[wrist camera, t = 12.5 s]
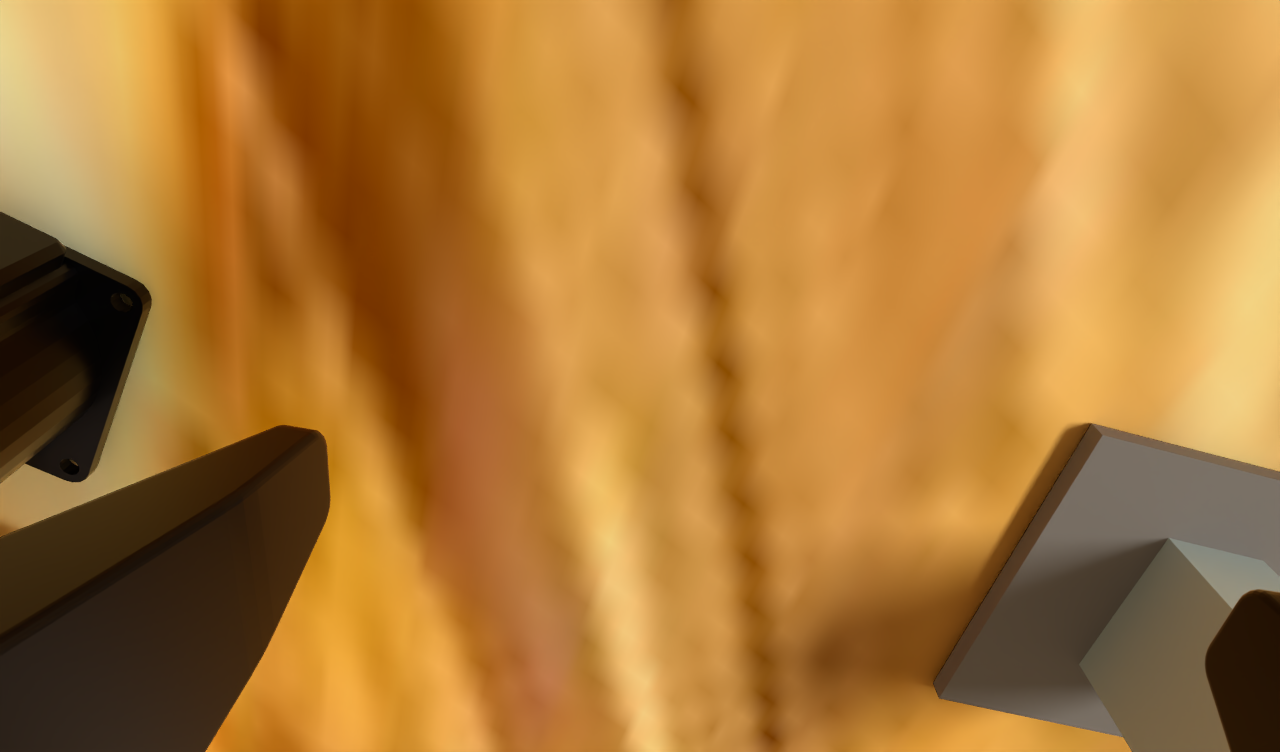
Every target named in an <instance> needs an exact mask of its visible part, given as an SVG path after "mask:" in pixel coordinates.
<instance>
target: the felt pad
mask: <svg viewBox="0 0 1280 752" xmlns="http://www.w3.org/2000/svg"><path fill="white" fill-rule="evenodd" d="M1168 538H1171V539H1175V540H1179V541H1183V542H1187V543H1192V544H1196V545H1200V546H1204V547H1208V548H1212V549H1217V550H1221V551H1225V552H1229V553H1233V554H1237V555H1241V556H1246V557H1250V558H1254V559H1258V560H1262V561H1264V562H1265V563H1266V564H1267V565H1268V566H1269V567H1270V568H1271V569H1272V570H1273V571H1274V572H1275V573H1276V574H1277V575H1278V576H1279V577H1280V472H1278V471H1274V470H1270V469H1266V468H1263V467H1259V466H1255V465H1251V464H1247V463H1243V462H1239V461H1235V460H1232V459H1228V458H1224V457H1220V456H1216V455H1212V454H1208V453H1204V452H1201V451H1197V450H1193V449H1189V448H1185V447H1181V446H1177V445H1173V444H1169V443H1166V442H1162V441H1158V440H1154V439H1150V438H1146V437H1142V436H1138V435H1135V434H1131V433H1127V432H1123V431H1119V430H1115V429H1111V428H1107V427H1104V426H1100V425H1096V424H1091V425H1090V427H1089V428H1088V430H1087V432H1086V433H1085V435H1084V437H1083V438H1082V440H1081V442H1080V443H1079V445H1078V446H1077V448H1076V450H1075V451H1074V453H1073V455H1072V456H1071V458H1070V460H1069V461H1068V463H1067V465H1066V466H1065V468H1064V469H1063V471H1062V473H1061V474H1060V476H1059V478H1058V479H1057V481H1056V483H1055V484H1054V486H1053V487H1052V489H1051V491H1050V492H1049V494H1048V496H1047V497H1046V499H1045V501H1044V502H1043V504H1042V506H1041V507H1040V509H1039V510H1038V512H1037V514H1036V515H1035V517H1034V519H1033V520H1032V522H1031V524H1030V525H1029V527H1028V528H1027V530H1026V532H1025V533H1024V535H1023V537H1022V538H1021V540H1020V542H1019V543H1018V545H1017V546H1016V548H1015V550H1014V551H1013V553H1012V555H1011V556H1010V558H1009V560H1008V561H1007V563H1006V565H1005V566H1004V568H1003V569H1002V571H1001V573H1000V574H999V576H998V578H997V579H996V581H995V583H994V584H993V586H992V587H991V589H990V591H989V592H988V594H987V596H986V597H985V599H984V601H983V602H982V604H981V606H980V607H979V609H978V610H977V612H976V614H975V615H974V617H973V619H972V620H971V622H970V624H969V625H968V627H967V628H966V630H965V632H964V633H963V635H962V637H961V638H960V640H959V642H958V643H957V645H956V646H955V648H954V650H953V651H952V653H951V655H950V656H949V658H948V660H947V661H946V663H945V665H944V666H943V668H942V669H941V671H940V673H939V674H938V676H937V678H936V679H935V681H934V683H933V684H934V687H935V689H936V692H937V694H938V697H939V698H940V699H945V700H949V701H954V702H959V703H964V704H968V705H973V706H978V707H983V708H987V709H992V710H997V711H1002V712H1006V713H1011V714H1016V715H1021V716H1025V717H1030V718H1035V719H1040V720H1044V721H1049V722H1054V723H1059V724H1063V725H1068V726H1073V727H1078V728H1082V729H1087V730H1092V731H1097V732H1101V733H1106V734H1111V735H1116V736H1120V737H1123V736H1122V734H1121V732H1120V731H1119V729H1118V728H1117V726H1116V724H1115V723H1114V721H1113V719H1112V718H1111V716H1110V714H1109V713H1108V711H1107V709H1106V708H1105V706H1104V705H1103V703H1102V701H1101V700H1100V698H1099V696H1098V695H1097V693H1096V691H1095V690H1094V688H1093V686H1092V685H1091V683H1090V682H1089V680H1088V678H1087V677H1086V675H1085V673H1084V672H1083V670H1082V668H1081V667H1080V665H1079V664H1080V662H1081V661H1082V659H1083V658H1084V657H1085V655H1086V654H1087V652H1088V651H1089V650H1090V648H1091V647H1092V645H1093V644H1094V643H1095V641H1096V640H1097V638H1098V637H1099V635H1100V634H1101V633H1102V631H1103V630H1104V628H1105V627H1106V626H1107V624H1108V623H1109V621H1110V620H1111V619H1112V617H1113V616H1114V614H1115V613H1116V611H1117V610H1118V609H1119V607H1120V606H1121V604H1122V603H1123V602H1124V600H1125V599H1126V597H1127V596H1128V595H1129V593H1130V592H1131V590H1132V589H1133V588H1134V586H1135V585H1136V583H1137V582H1138V580H1139V579H1140V578H1141V576H1142V575H1143V573H1144V572H1145V571H1146V569H1147V568H1148V566H1149V565H1150V564H1151V562H1152V561H1153V559H1154V558H1155V556H1156V555H1157V554H1158V552H1159V551H1160V549H1161V548H1162V547H1163V545H1164V544H1165V542H1166V541H1167V540H1168Z"/></svg>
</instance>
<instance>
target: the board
mask: <svg viewBox="0 0 1280 752" xmlns="http://www.w3.org/2000/svg"><path fill="white" fill-rule="evenodd" d="M1256 589H1263V590H1269V591H1275V592H1280V577H1279V576H1278V575H1277V574H1276V573H1275V572H1274V571H1273V570H1272V569H1271V568H1270V567H1269V566H1268V565H1267V564H1266V563H1265V562H1264V561H1262V560H1258V559H1254V558H1250V557H1246V556H1241V555H1237V554H1233V553H1229V552H1225V551H1221V550H1217V549H1212V548H1208V547H1204V546H1200V545H1196V544H1192V543H1187V542H1183V541H1179V540H1175V539H1171V538H1168V540H1167V541H1166V542H1165V544H1164V545H1163V547H1162V548H1161V549H1160V551H1159V552H1158V554H1157V555H1156V556H1155V558H1154V559H1153V561H1152V562H1151V564H1150V565H1149V566H1148V568H1147V569H1146V571H1145V572H1144V573H1143V575H1142V576H1141V578H1140V579H1139V580H1138V582H1137V583H1136V585H1135V586H1134V588H1133V589H1132V590H1131V592H1130V593H1129V595H1128V596H1127V597H1126V599H1125V600H1124V602H1123V603H1122V604H1121V606H1120V607H1119V609H1118V610H1117V611H1116V613H1115V614H1114V616H1113V617H1112V619H1111V620H1110V621H1109V623H1108V624H1107V626H1106V627H1105V628H1104V630H1103V631H1102V633H1101V634H1100V635H1099V637H1098V638H1097V640H1096V641H1095V643H1094V644H1093V645H1092V647H1091V648H1090V650H1089V651H1088V652H1087V654H1086V655H1085V657H1084V658H1083V659H1082V661H1081V662H1080V664H1079V665H1080V667H1081V668H1082V670H1083V672H1084V673H1085V675H1086V677H1087V678H1088V680H1089V682H1090V683H1091V685H1092V686H1093V688H1094V690H1095V691H1096V693H1097V695H1098V696H1099V698H1100V700H1101V701H1102V703H1103V705H1104V706H1105V708H1106V709H1107V711H1108V713H1109V714H1110V716H1111V718H1112V719H1113V721H1114V723H1115V724H1116V726H1117V728H1118V729H1119V731H1120V732H1121V734H1122V736H1123V737H1124V739H1125V741H1126V742H1127V744H1128V746H1129V747H1130V749H1131V751H1132V752H1230V749H1229V746H1228V743H1227V739H1226V736H1225V733H1224V730H1223V727H1222V724H1221V721H1220V717H1219V714H1218V711H1217V708H1216V705H1215V702H1214V699H1213V695H1212V692H1211V689H1210V686H1209V683H1208V680H1207V676H1206V672H1205V655H1206V652H1207V649H1208V647H1209V645H1210V643H1211V642H1212V640H1213V639H1214V637H1215V635H1216V634H1217V632H1218V631H1219V629H1220V628H1221V626H1222V625H1223V623H1224V622H1225V620H1226V619H1227V617H1228V615H1229V614H1230V612H1231V611H1232V609H1233V608H1234V606H1235V605H1236V603H1237V602H1238V600H1239V599H1240V598H1241V596H1242V595H1244V594H1245V593H1247V592H1248V591H1250V590H1256Z"/></svg>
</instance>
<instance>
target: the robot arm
mask: <svg viewBox="0 0 1280 752" xmlns="http://www.w3.org/2000/svg"><path fill="white" fill-rule="evenodd" d="M120 293H122V294H125V295H126V296H128V297H129V298H130V299H131V301H132V306H130V305H128V304H126V303H125V302H123V300H122V298H121V297H120ZM151 302H152V299H151V296H150V293H149V291H148V290H147V289H146V287H145V286H144V285H143V284H141V283H140V282H138V281H137V280H135V279H133V278H131V277H129V276H127V275H125V274H123V273H120V272H118V271H116V270H114V269H112V268H110V267H108V266H106V265H104V264H102V263H100V262H98V261H95V260H93V259H91V258H89V257H87V256H85V255H83V254H81V253H79V252H77V251H75V250H72V249H70V248H68V247H66V246H64V245H63V244H62V243H61V242H59V241H58V240H57V239H56V238H54V237H52V236H50V235H48V234H46V233H44V232H41V231H39V230H37V229H35V228H33V227H31V226H29V225H27V224H25V223H23V222H21V221H18V220H16V219H14V218H12V217H10V216H8V215H6V214H4V213H2V212H0V483H1V482H3V481H4V480H5V479H6V478H8V477H9V476H10V475H11V474H12V473H14V472H15V471H16V470H17V469H19V468H20V467H21V466H22V465H23V464H28V465H30V466H32V467H35V468H37V469H40V470H42V471H44V472H47V473H49V474H52V475H54V476H56V477H59V478H61V479H64V480H66V481H70V482H81V481H83V480H85V479H86V478H87V477H88V476H89V475H90V474H92V473H93V472H94V471H95V469H96V468H97V466H98V463H99V460H100V457H101V454H102V451H103V448H104V445H105V442H106V439H107V436H108V433H109V430H110V427H111V424H112V421H113V418H114V415H115V412H116V409H117V406H118V403H119V400H120V397H121V394H122V391H123V388H124V386H125V383H126V380H127V377H128V374H129V371H130V368H131V365H132V362H133V359H134V356H135V353H136V350H137V347H138V344H139V341H140V338H141V335H142V332H143V329H144V326H145V323H146V320H147V317H148V314H149V311H150V308H151ZM70 460H73V461H74V462H76V463H77V465H78V466H76V465H75V464H73V463H72V462H71V461H70ZM329 508H330V485H329V470H328V456H327V445H326V441H325V438H324V436H323V435H322V434H321V433H320V432H319V431H317V430H311V429H305V428H300V427H294V426H287V425H279V426H276V427H274V428H271V429H269V430H266V431H264V432H261V433H259V434H256V435H254V436H251V437H249V438H246V439H244V440H241V441H239V442H236V443H234V444H231V445H229V446H226V447H224V448H221V449H219V450H216V451H214V452H211V453H209V454H206V455H204V456H201V457H199V458H196V459H194V460H191V461H189V462H186V463H184V464H181V465H179V466H176V467H174V468H171V469H169V470H166V471H164V472H161V473H159V474H156V475H154V476H151V477H149V478H146V479H144V480H142V481H139V482H137V483H134V484H132V485H129V486H127V487H124V488H122V489H119V490H117V491H114V492H112V493H109V494H107V495H104V496H102V497H99V498H97V499H94V500H92V501H89V502H87V503H84V504H82V505H79V506H77V507H74V508H72V509H69V510H67V511H64V512H62V513H59V514H57V515H54V516H52V517H49V518H47V519H44V520H42V521H39V522H37V523H34V524H32V525H29V526H27V527H24V528H22V529H19V530H17V531H14V532H12V533H9V534H7V535H4V536H2V537H0V752H205V751H206V750H207V748H208V746H209V745H210V743H211V741H212V740H213V738H214V737H215V735H216V733H217V732H218V730H219V728H220V727H221V725H222V723H223V722H224V720H225V718H226V717H227V715H228V713H229V712H230V710H231V708H232V707H233V705H234V703H235V702H236V700H237V699H238V697H239V695H240V694H241V692H242V690H243V689H244V687H245V685H246V684H247V682H248V680H249V679H250V677H251V675H252V674H253V672H254V670H255V668H256V667H257V665H258V663H259V661H260V660H261V658H262V656H263V654H264V652H265V650H266V648H267V646H268V644H269V642H270V640H271V638H272V636H273V634H274V632H275V630H276V628H277V626H278V624H279V622H280V619H281V617H282V615H283V613H284V611H285V609H286V606H287V604H288V602H289V600H290V598H291V596H292V593H293V591H294V589H295V587H296V585H297V583H298V580H299V578H300V576H301V574H302V572H303V570H304V567H305V565H306V563H307V561H308V559H309V557H310V554H311V552H312V550H313V548H314V546H315V544H316V542H317V539H318V537H319V535H320V533H321V531H322V529H323V526H324V524H325V522H326V519H327V516H328V512H329ZM1205 672H1206V676H1207V680H1208V683H1209V686H1210V689H1211V692H1212V695H1213V699H1214V702H1215V705H1216V708H1217V711H1218V714H1219V717H1220V721H1221V724H1222V727H1223V730H1224V733H1225V736H1226V739H1227V743H1228V746H1229V749H1230V752H1280V592H1275V591H1269V590H1263V589H1256V590H1250V591H1248V592H1247V593H1245V594H1244V595H1242V596H1241V598H1240V599H1239V600H1238V602H1237V603H1236V605H1235V606H1234V608H1233V609H1232V611H1231V612H1230V614H1229V615H1228V617H1227V619H1226V620H1225V622H1224V623H1223V625H1222V626H1221V628H1220V629H1219V631H1218V632H1217V634H1216V635H1215V637H1214V639H1213V640H1212V642H1211V643H1210V645H1209V647H1208V649H1207V652H1206V655H1205Z"/></svg>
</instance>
